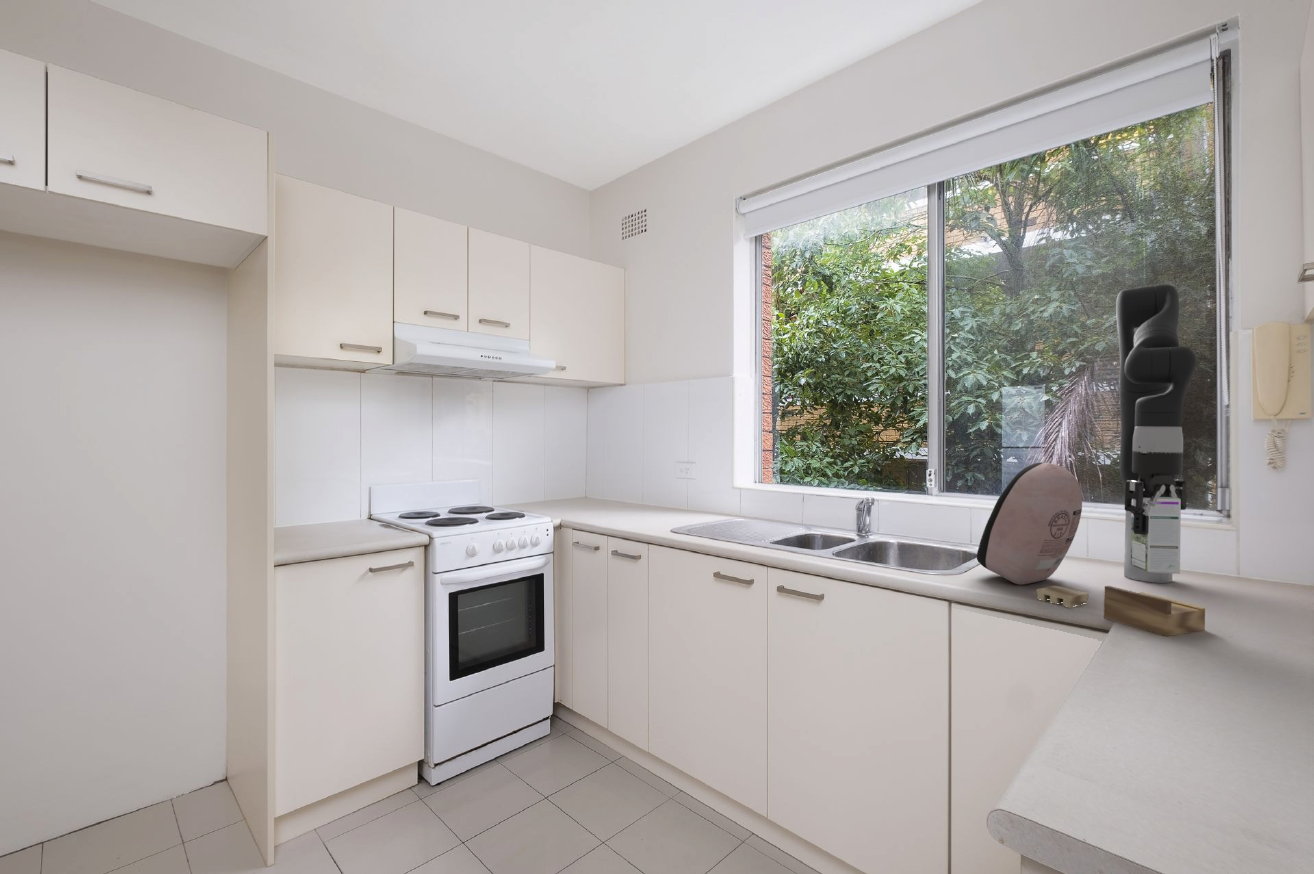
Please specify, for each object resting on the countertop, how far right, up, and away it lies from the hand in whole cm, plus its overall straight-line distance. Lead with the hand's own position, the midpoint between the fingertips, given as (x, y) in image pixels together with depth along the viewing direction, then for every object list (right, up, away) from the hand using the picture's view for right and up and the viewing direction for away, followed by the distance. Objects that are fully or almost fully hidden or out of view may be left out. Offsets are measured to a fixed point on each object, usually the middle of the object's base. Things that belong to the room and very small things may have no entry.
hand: (1155, 533), depth 115 cm
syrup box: (0, -7, 0) cm, 7 cm away
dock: (0, -18, 0) cm, 18 cm away
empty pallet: (-8, -18, +14) cm, 24 cm away
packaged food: (-5, -18, +31) cm, 36 cm away
